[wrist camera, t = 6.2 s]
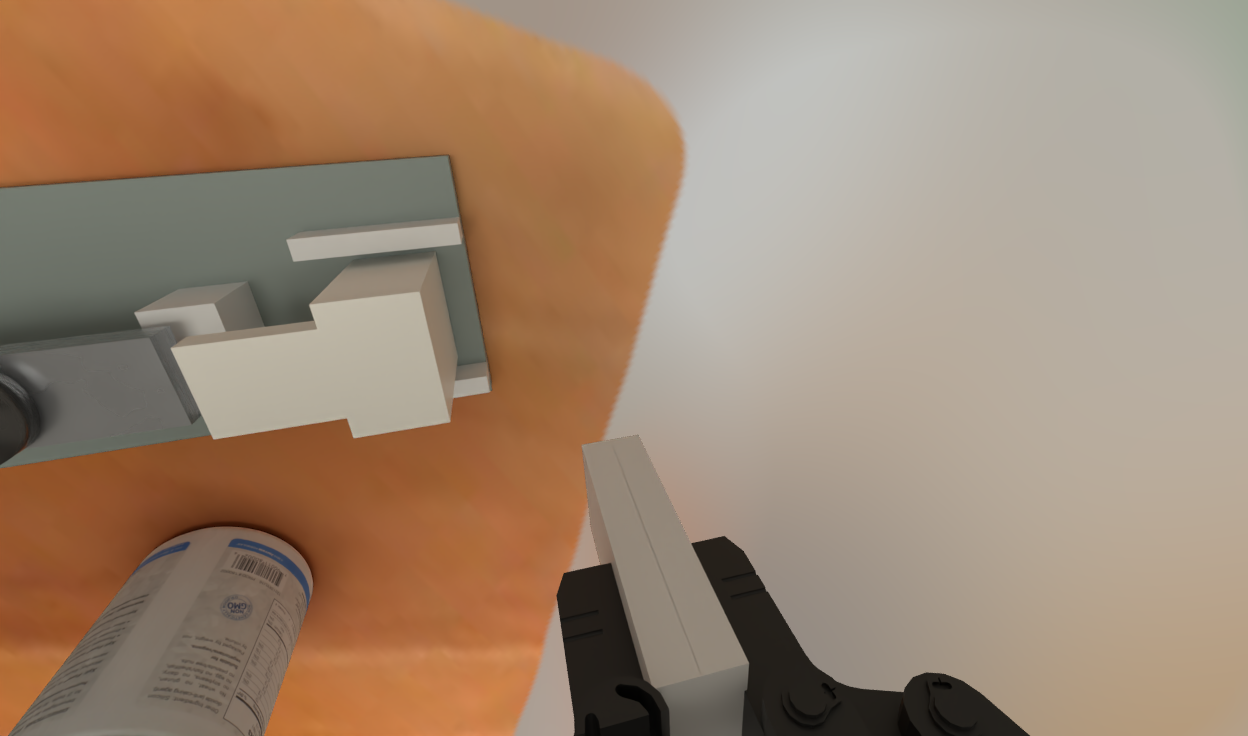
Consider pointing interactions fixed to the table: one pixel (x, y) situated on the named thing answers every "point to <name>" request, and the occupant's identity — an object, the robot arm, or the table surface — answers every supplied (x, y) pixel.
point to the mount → (221, 257)
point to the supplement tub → (185, 643)
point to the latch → (335, 358)
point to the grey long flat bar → (90, 389)
